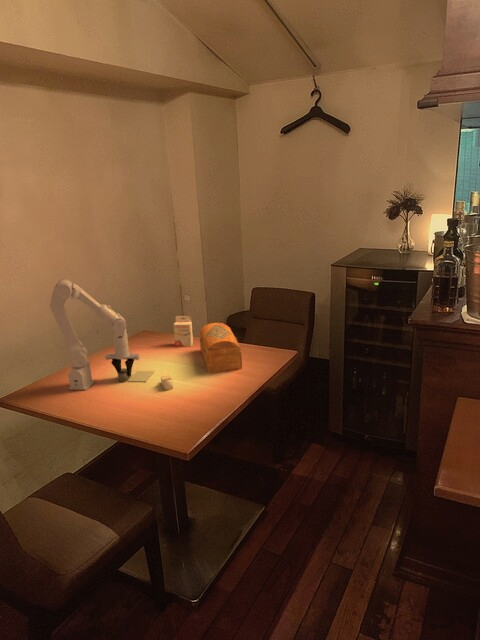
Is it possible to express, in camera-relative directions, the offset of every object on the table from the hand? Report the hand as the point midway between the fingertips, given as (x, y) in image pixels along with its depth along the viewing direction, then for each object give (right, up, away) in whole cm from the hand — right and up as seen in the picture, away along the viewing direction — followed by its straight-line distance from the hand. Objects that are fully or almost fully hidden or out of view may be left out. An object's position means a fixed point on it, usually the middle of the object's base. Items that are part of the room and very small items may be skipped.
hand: (124, 375), depth 199 cm
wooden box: (+40, +5, +17) cm, 44 cm away
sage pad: (+7, -1, +1) cm, 7 cm away
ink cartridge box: (+21, +11, +39) cm, 45 cm away
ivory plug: (+19, -3, -9) cm, 22 cm away
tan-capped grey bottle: (0, -1, 0) cm, 1 cm away
